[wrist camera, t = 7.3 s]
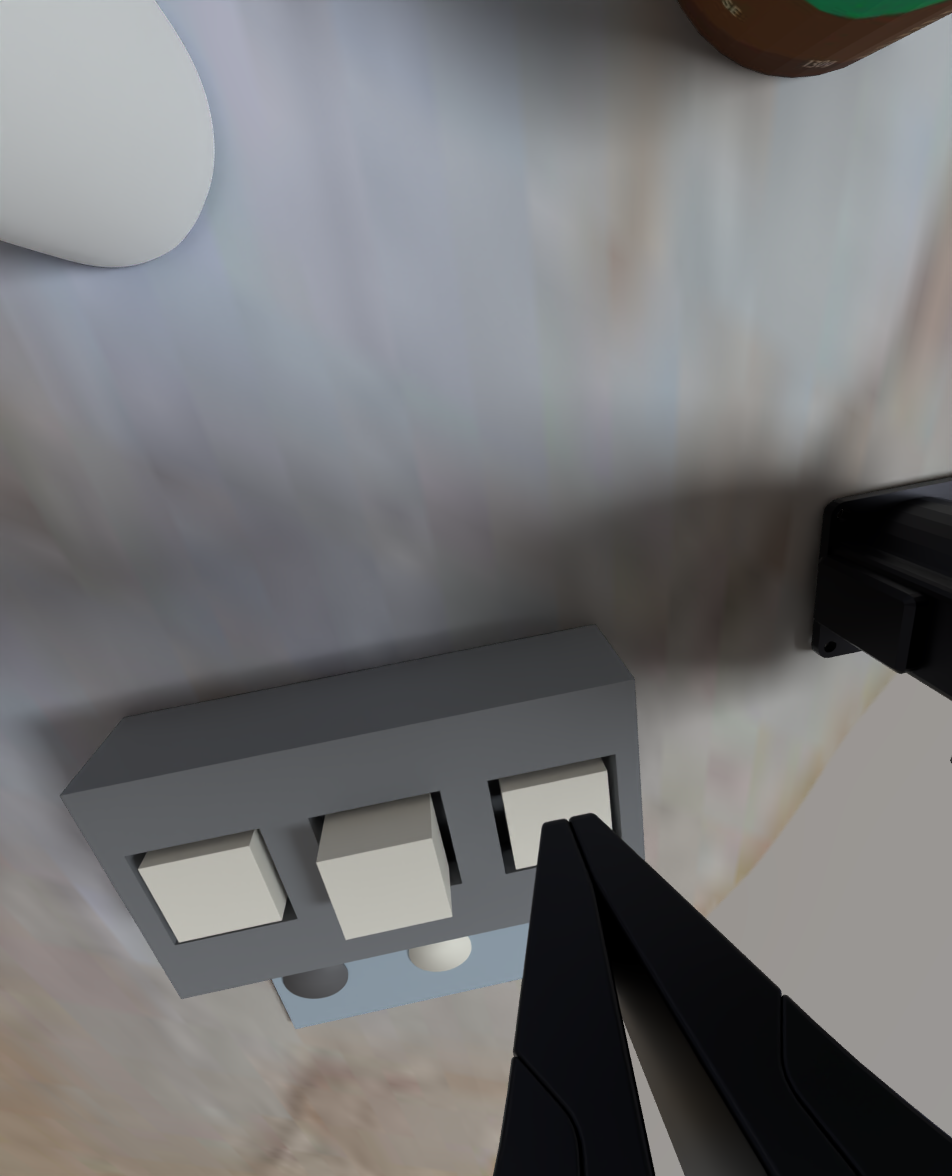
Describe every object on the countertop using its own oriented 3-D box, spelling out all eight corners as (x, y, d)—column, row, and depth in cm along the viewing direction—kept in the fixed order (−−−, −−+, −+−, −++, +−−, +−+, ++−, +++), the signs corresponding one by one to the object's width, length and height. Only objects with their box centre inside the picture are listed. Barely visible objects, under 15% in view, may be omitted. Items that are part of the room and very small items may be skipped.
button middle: (429, 791, 19) (431, 838, 17) (448, 866, 20) (452, 916, 18) (325, 813, 19) (316, 862, 17) (351, 887, 20) (345, 940, 18)
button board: (595, 624, 21) (634, 679, 17) (612, 818, 25) (647, 896, 21) (123, 717, 20) (59, 795, 17) (216, 902, 24) (181, 999, 20)
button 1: (264, 800, 20) (249, 846, 18) (293, 871, 21) (281, 920, 19) (163, 821, 20) (137, 869, 18) (199, 891, 21) (178, 942, 19)
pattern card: (594, 854, 26) (597, 863, 25) (604, 951, 28) (607, 961, 28) (253, 927, 25) (250, 938, 25) (297, 1020, 28) (295, 1031, 27)
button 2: (589, 733, 20) (607, 770, 18) (596, 807, 22) (613, 848, 20) (493, 753, 20) (501, 792, 18) (507, 826, 21) (516, 869, 20)
